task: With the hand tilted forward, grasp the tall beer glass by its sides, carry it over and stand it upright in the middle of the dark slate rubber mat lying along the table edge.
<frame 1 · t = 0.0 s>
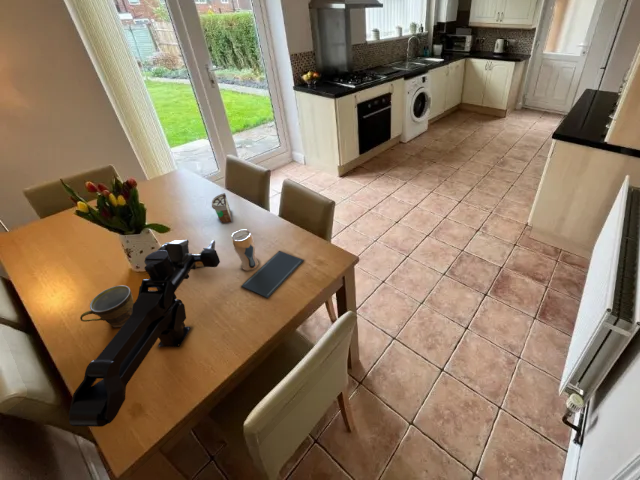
hand: (201, 240, 108), 17 cm above the table, tool horizontal, fingers open, 9 cm apart
food container: (224, 218, 147), on the table
ceramic cup: (119, 322, 100), on the table
pastry: (204, 261, 123), on the table
mat: (274, 273, 118), on the table
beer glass: (250, 265, 122), on the table
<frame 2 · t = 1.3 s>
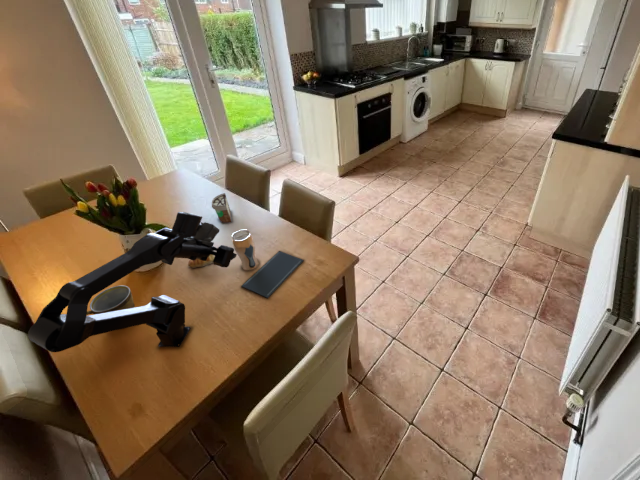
hand: (225, 252, 108), 13 cm above the table, tool tilted 45°, fingers open, 9 cm apart
nothing on the table moved.
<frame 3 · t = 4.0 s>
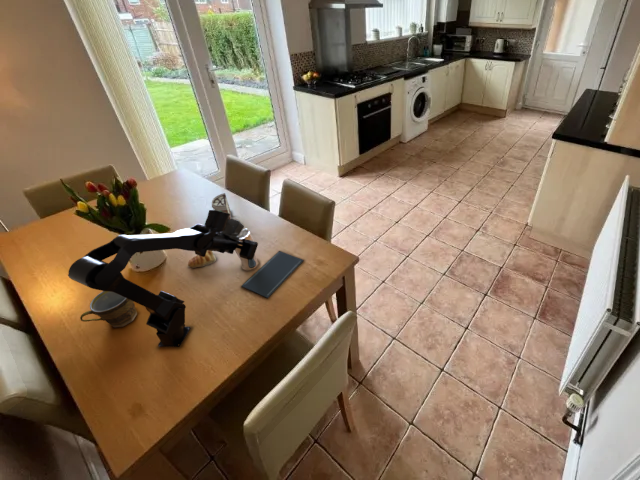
hand: (248, 246, 118), 8 cm above the table, tool tilted 45°, fingers closed on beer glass, 7 cm apart
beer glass: (250, 265, 121), on the table, touching gripper
everything else where it was.
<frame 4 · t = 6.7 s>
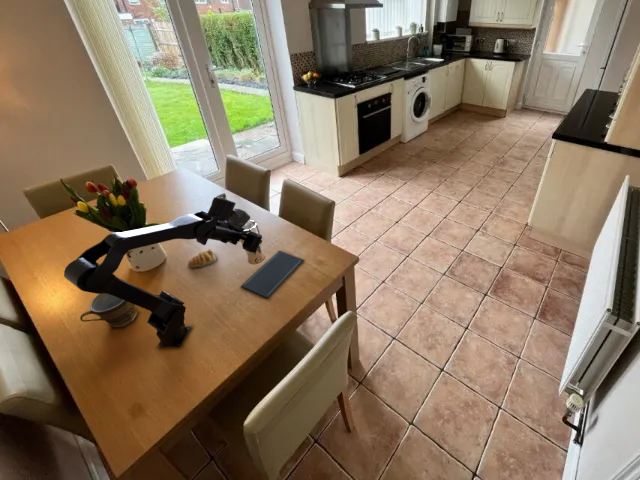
hand: (254, 238, 114), 13 cm above the table, tool tilted 45°, fingers closed on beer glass, 7 cm apart
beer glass: (256, 259, 117), point 5 cm above the table, touching gripper
everything else where it was.
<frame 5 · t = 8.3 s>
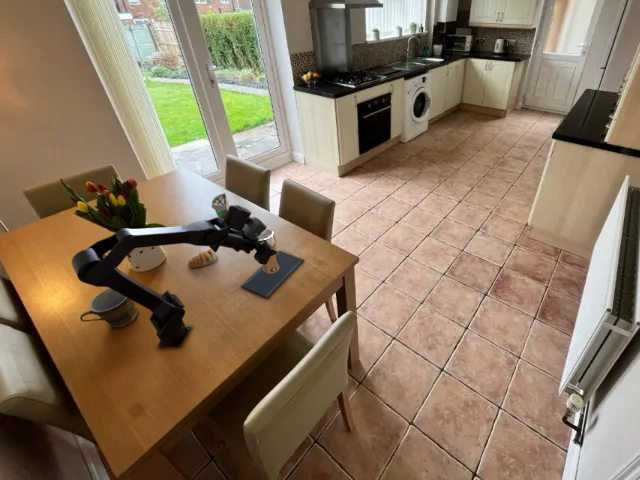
hand: (271, 248, 113), 12 cm above the table, tool tilted 45°, fingers closed on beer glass, 7 cm apart
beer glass: (271, 269, 115), point 3 cm above the table, touching gripper
everything else where it was.
when the fingers open (9 cm above the table, at t = 9.6 s): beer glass stays where it is, resting on mat.
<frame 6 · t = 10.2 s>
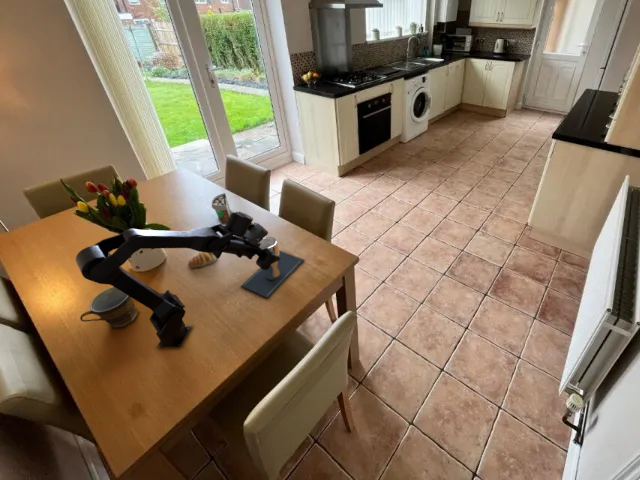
hand: (272, 252, 114), 9 cm above the table, tool tilted 45°, fingers open, 9 cm apart
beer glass: (273, 274, 117), resting on mat, touching gripper
everything else where it was.
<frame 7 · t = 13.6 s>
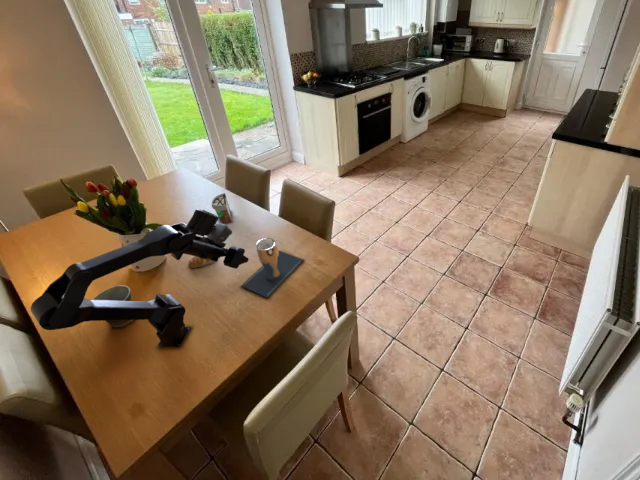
hand: (238, 257, 107), 13 cm above the table, tool tilted 40°, fingers open, 9 cm apart
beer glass: (273, 274, 117), resting on mat
everything else where it was.
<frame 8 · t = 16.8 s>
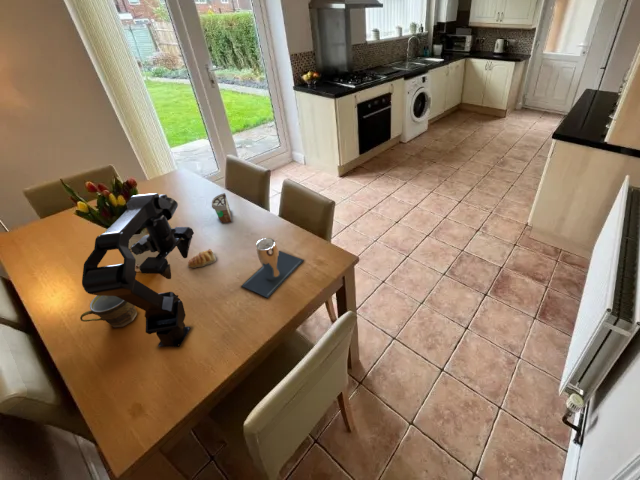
hand: (177, 267, 102), 13 cm above the table, tool pointing down, fingers open, 9 cm apart
nothing on the table moved.
at the end: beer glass inside the target area on the mat (1.1 cm from its centre), point 0.3 cm above the mat's base; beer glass tilted 0°; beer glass touching mat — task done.
